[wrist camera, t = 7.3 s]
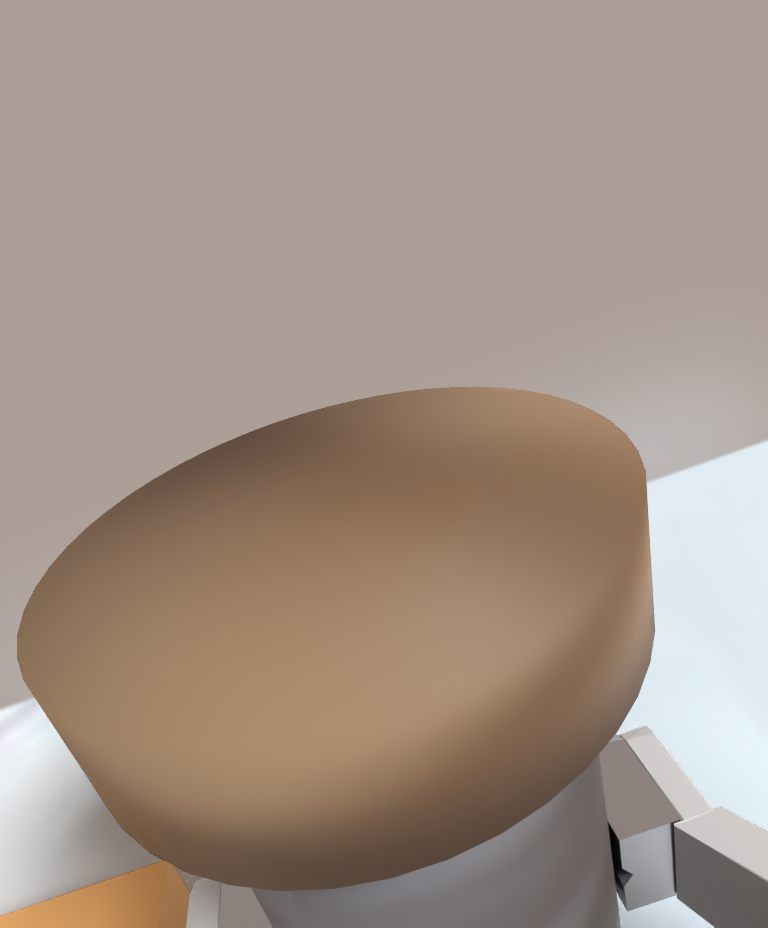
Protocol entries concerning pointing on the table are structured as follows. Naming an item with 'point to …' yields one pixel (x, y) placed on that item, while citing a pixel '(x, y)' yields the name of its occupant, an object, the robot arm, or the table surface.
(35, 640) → the cord spool
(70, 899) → the orange notched slab
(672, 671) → the table surface
